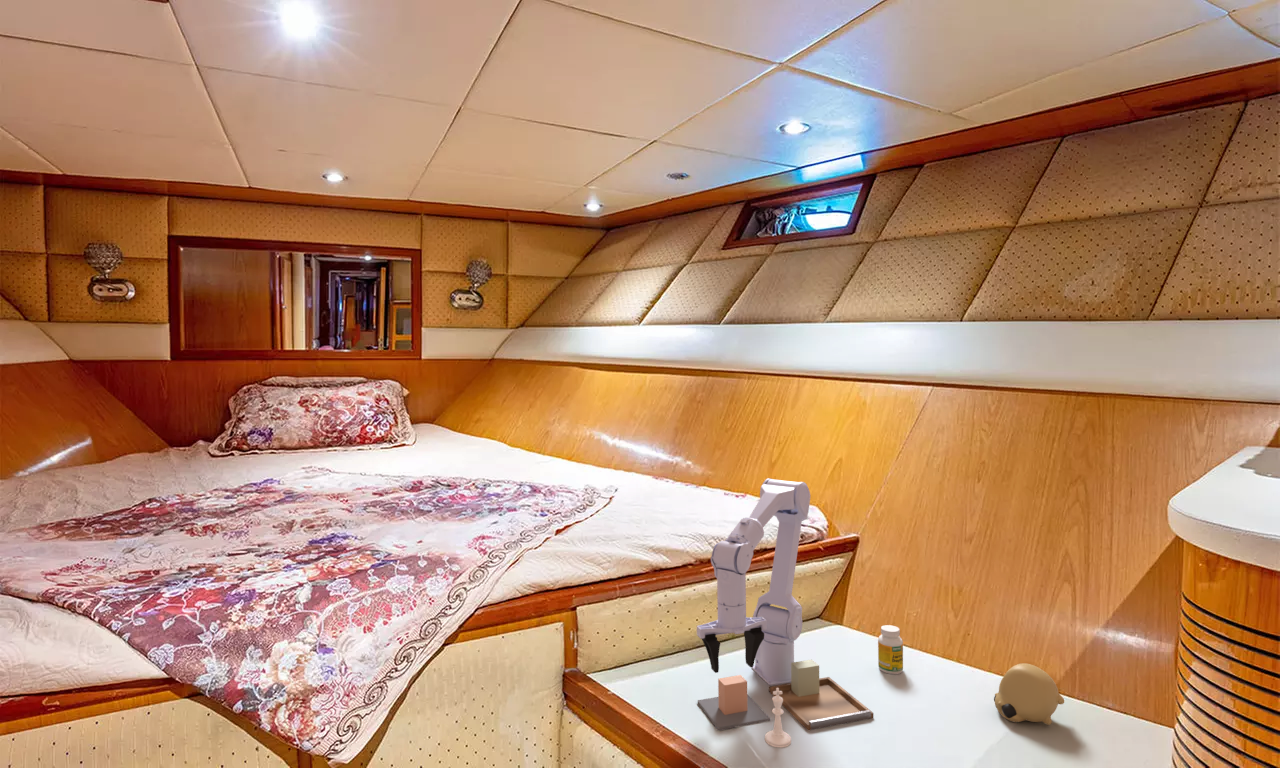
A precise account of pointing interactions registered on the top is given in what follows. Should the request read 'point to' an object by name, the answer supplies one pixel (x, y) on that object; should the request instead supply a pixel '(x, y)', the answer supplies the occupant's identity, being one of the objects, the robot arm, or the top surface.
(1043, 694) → the tan animal figurine
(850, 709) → the wooden serving tray
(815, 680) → the khaki rectangular block
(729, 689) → the salmon pink box
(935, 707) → the top surface
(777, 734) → the chess piece
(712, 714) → the mat
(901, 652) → the supplement bottle
